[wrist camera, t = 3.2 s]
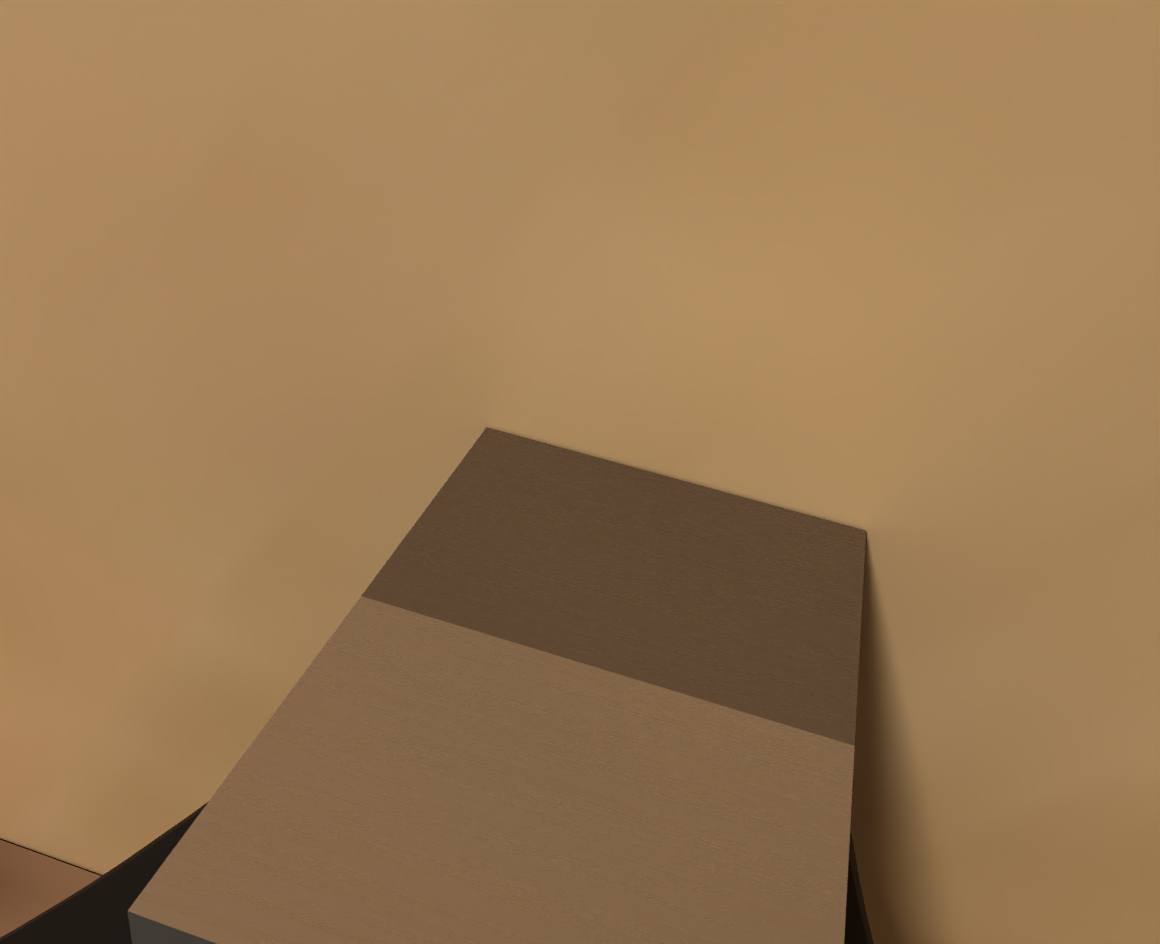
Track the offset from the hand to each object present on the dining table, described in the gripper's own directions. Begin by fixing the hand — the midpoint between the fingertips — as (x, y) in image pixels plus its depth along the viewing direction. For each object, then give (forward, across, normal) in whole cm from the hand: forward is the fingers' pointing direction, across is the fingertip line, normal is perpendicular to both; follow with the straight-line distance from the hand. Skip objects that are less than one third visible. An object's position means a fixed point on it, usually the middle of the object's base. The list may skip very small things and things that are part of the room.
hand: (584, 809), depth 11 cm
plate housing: (+1, 0, 0) cm, 1 cm away
